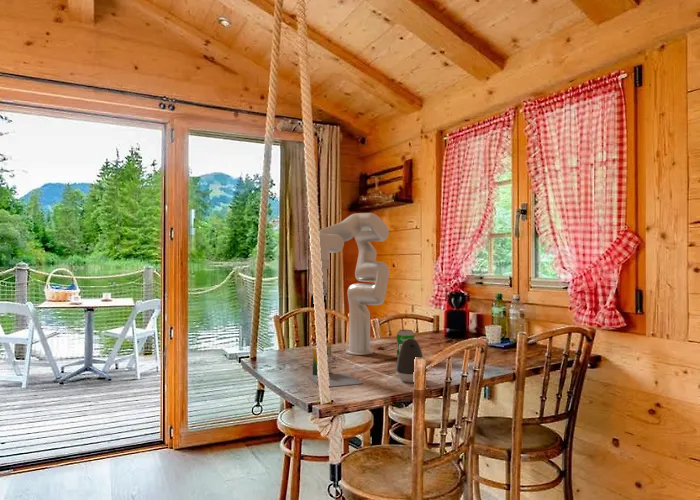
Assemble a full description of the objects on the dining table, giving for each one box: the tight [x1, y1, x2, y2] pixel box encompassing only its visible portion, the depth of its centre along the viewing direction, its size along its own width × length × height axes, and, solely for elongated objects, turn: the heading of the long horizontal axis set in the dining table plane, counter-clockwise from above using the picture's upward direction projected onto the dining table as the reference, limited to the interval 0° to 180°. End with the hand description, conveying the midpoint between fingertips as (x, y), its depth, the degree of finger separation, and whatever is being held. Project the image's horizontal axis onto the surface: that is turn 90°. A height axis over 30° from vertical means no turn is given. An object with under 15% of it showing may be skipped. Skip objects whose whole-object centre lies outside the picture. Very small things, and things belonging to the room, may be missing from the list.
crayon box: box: [312, 341, 332, 376], centre depth 185 cm, size 7×3×12 cm, turn 136°
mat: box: [307, 372, 364, 388], centre depth 175 cm, size 16×15×1 cm
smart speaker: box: [395, 338, 424, 384], centre depth 176 cm, size 10×10×15 cm
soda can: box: [396, 329, 415, 357], centre depth 214 cm, size 8×8×12 cm
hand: (318, 308), depth 194 cm, fingers open, 9 cm apart
